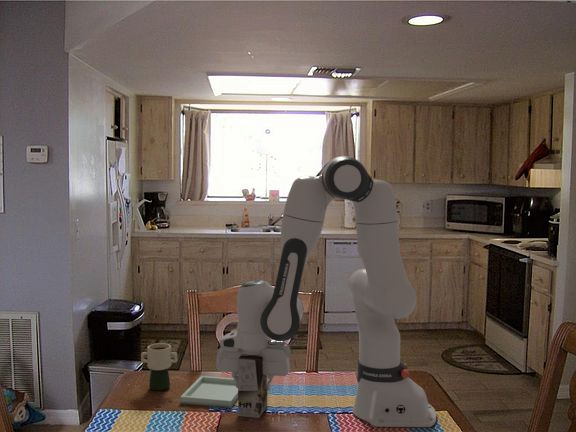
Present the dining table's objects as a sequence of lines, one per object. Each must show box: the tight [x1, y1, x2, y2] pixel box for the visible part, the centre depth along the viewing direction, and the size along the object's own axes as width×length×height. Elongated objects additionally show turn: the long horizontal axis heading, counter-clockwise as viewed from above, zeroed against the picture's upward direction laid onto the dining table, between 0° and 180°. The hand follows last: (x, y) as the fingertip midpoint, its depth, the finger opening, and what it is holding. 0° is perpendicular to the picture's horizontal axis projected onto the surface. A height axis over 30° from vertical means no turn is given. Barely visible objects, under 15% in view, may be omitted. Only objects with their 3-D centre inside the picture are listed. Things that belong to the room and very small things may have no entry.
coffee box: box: [237, 355, 268, 419], centre depth 161 cm, size 9×6×16 cm
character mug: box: [140, 342, 178, 391], centre depth 177 cm, size 11×7×13 cm, turn 91°
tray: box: [179, 375, 238, 409], centre depth 173 cm, size 15×17×2 cm
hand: (253, 388), depth 161 cm, fingers closed on coffee box, 6 cm apart
